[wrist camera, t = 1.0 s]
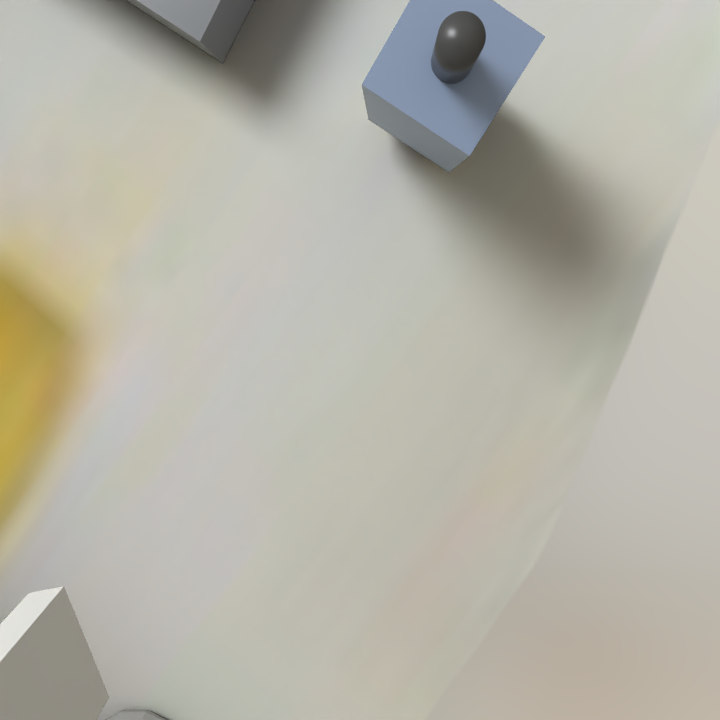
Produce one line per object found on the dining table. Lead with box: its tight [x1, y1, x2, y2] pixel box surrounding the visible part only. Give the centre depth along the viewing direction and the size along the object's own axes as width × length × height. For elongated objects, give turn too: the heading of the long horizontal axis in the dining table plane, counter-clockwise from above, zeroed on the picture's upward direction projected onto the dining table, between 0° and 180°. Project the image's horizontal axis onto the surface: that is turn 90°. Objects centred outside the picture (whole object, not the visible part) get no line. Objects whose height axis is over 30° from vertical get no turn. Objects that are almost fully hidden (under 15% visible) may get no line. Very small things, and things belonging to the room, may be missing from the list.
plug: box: [362, 0, 545, 172], centre depth 26 cm, size 5×5×13 cm
